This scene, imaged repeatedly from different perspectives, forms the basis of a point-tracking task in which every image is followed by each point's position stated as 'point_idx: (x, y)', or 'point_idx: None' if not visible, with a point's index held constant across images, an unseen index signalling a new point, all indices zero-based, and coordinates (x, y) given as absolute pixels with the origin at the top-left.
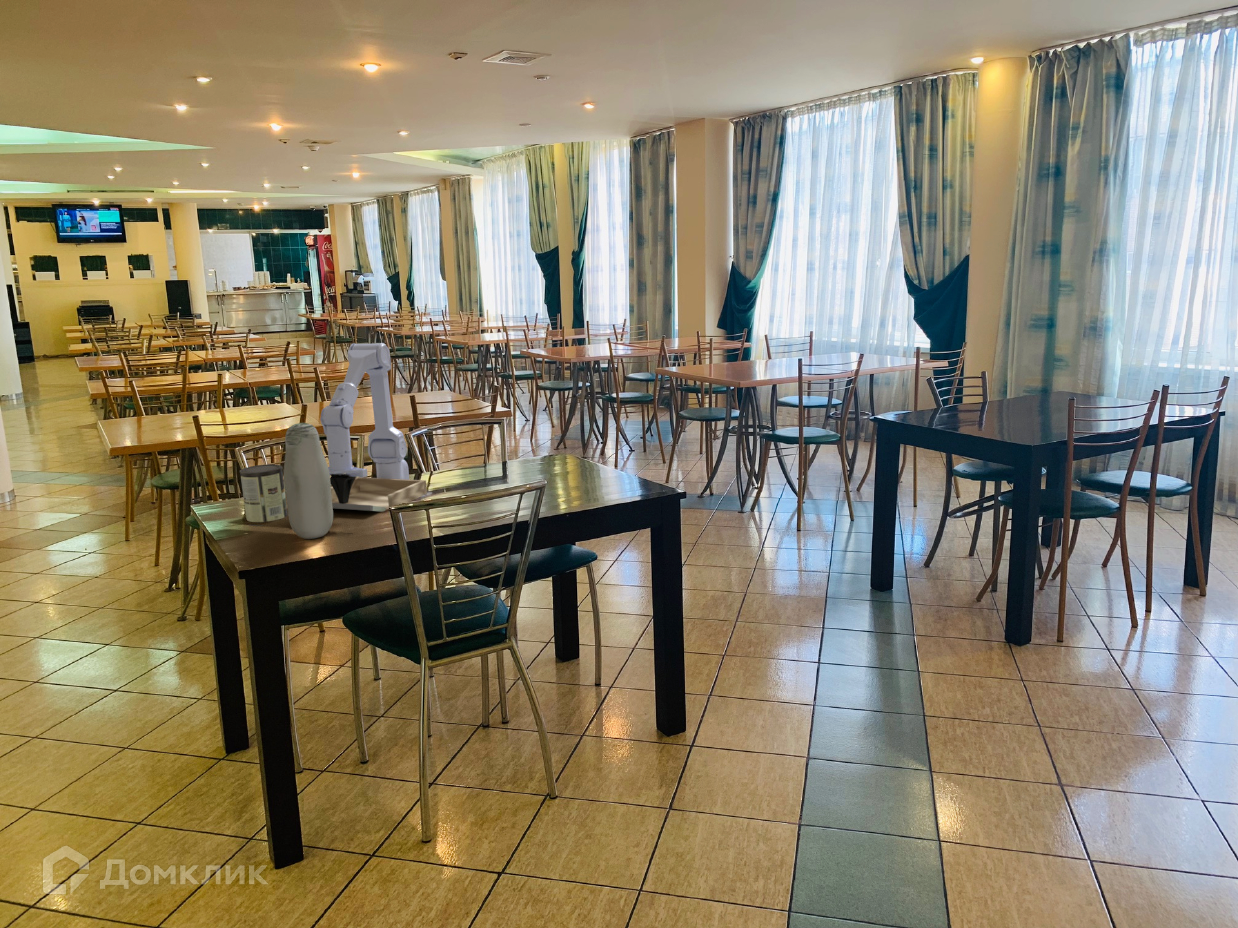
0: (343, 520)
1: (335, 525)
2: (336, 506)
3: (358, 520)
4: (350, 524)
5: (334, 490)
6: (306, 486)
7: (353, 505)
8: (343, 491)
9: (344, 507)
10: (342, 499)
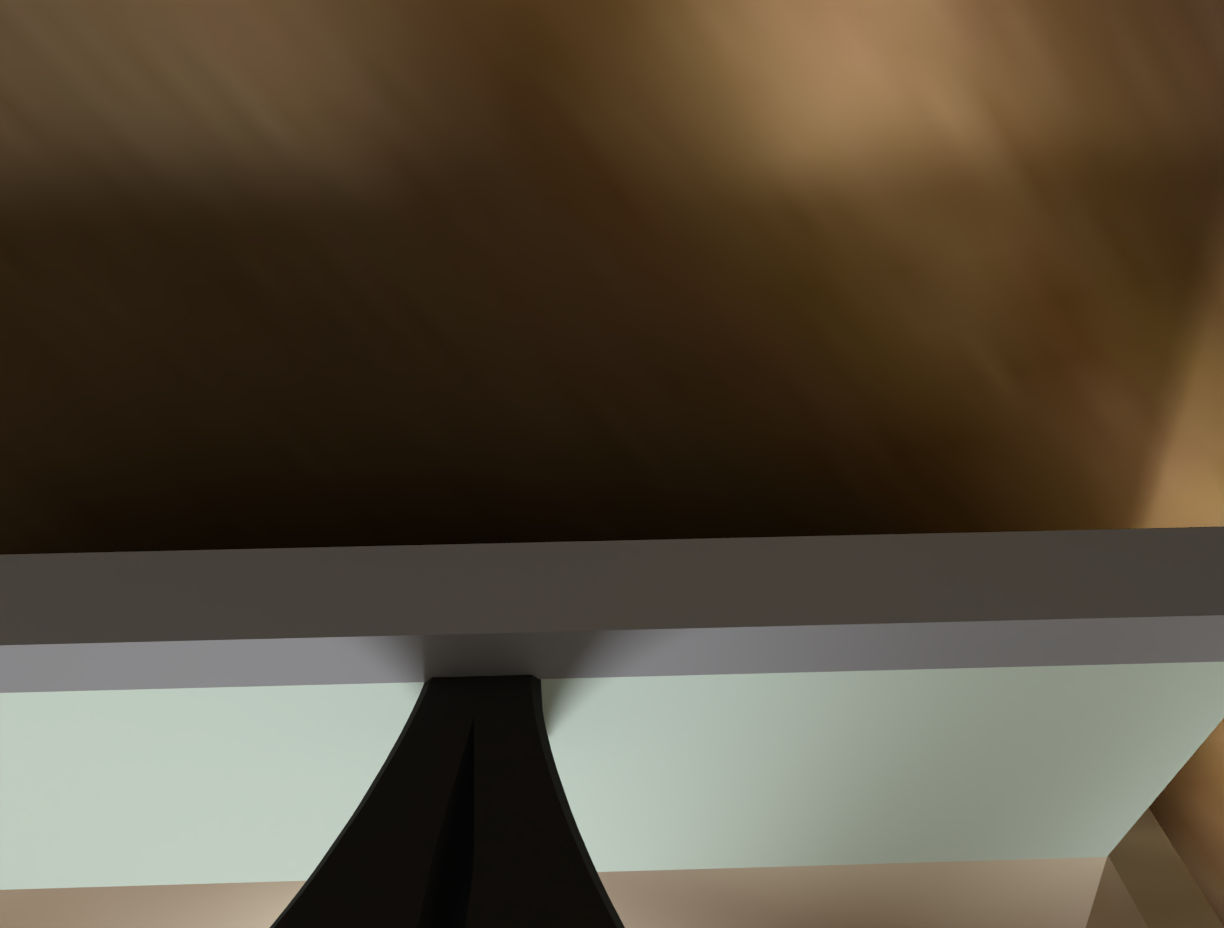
0: (369, 381)
1: (253, 38)
2: (541, 570)
3: (100, 441)
4: (13, 180)
5: (597, 891)
6: None
7: (91, 618)
8: (299, 894)
9: (334, 566)
10: (410, 731)
